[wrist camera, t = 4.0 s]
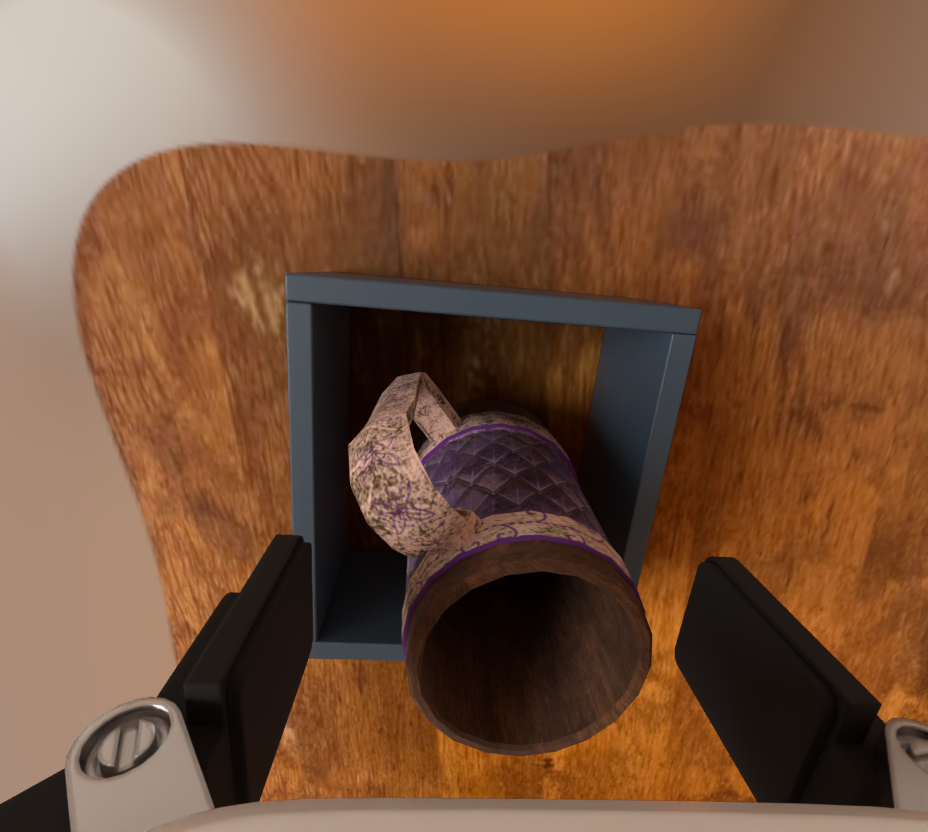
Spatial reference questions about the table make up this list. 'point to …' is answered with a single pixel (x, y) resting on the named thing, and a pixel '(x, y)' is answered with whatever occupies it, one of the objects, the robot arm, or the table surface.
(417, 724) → the table surface
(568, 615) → the mug
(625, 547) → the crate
